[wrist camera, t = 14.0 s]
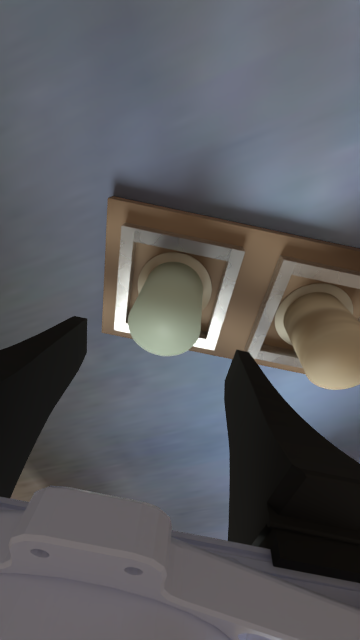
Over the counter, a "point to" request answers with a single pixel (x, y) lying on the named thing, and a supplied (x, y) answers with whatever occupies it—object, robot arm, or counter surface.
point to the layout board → (224, 276)
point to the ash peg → (325, 340)
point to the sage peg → (168, 310)
